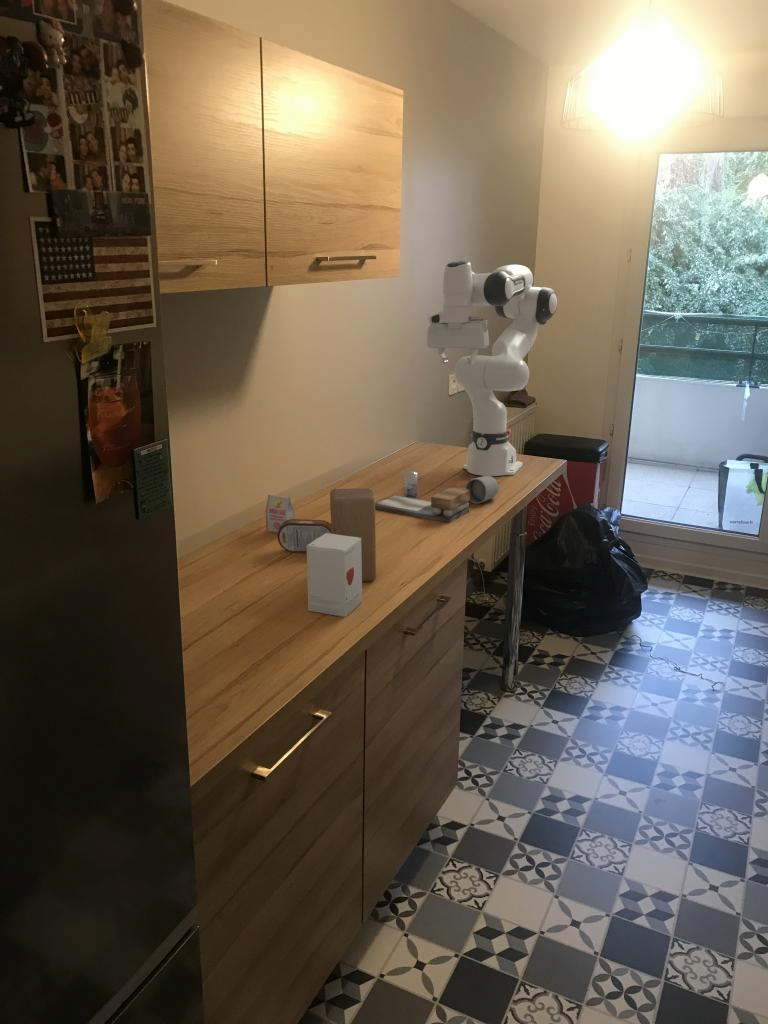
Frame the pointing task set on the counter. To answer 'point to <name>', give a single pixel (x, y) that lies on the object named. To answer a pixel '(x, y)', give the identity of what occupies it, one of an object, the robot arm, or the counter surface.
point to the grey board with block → (430, 505)
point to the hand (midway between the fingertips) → (457, 363)
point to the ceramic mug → (482, 489)
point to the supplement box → (334, 574)
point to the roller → (411, 484)
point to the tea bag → (278, 512)
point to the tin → (301, 533)
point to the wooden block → (356, 523)
